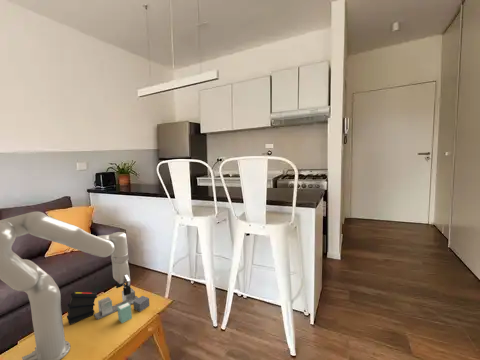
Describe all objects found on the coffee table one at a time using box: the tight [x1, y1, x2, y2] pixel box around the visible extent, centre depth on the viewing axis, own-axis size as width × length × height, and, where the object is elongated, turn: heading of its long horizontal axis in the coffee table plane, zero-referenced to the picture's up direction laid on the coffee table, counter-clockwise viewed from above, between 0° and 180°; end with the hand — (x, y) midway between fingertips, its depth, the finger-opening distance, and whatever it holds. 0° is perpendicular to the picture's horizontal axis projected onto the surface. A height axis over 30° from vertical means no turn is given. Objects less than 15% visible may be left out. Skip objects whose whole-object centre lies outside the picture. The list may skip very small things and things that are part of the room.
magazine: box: [66, 290, 98, 326], centre depth 129 cm, size 4×13×15 cm, turn 135°
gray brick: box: [133, 295, 150, 313], centre depth 137 cm, size 6×5×4 cm
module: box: [117, 302, 133, 324], centre depth 128 cm, size 5×4×7 cm
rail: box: [93, 287, 139, 321], centre depth 137 cm, size 22×5×7 cm, turn 136°
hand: (123, 290), depth 127 cm, fingers open, 9 cm apart
